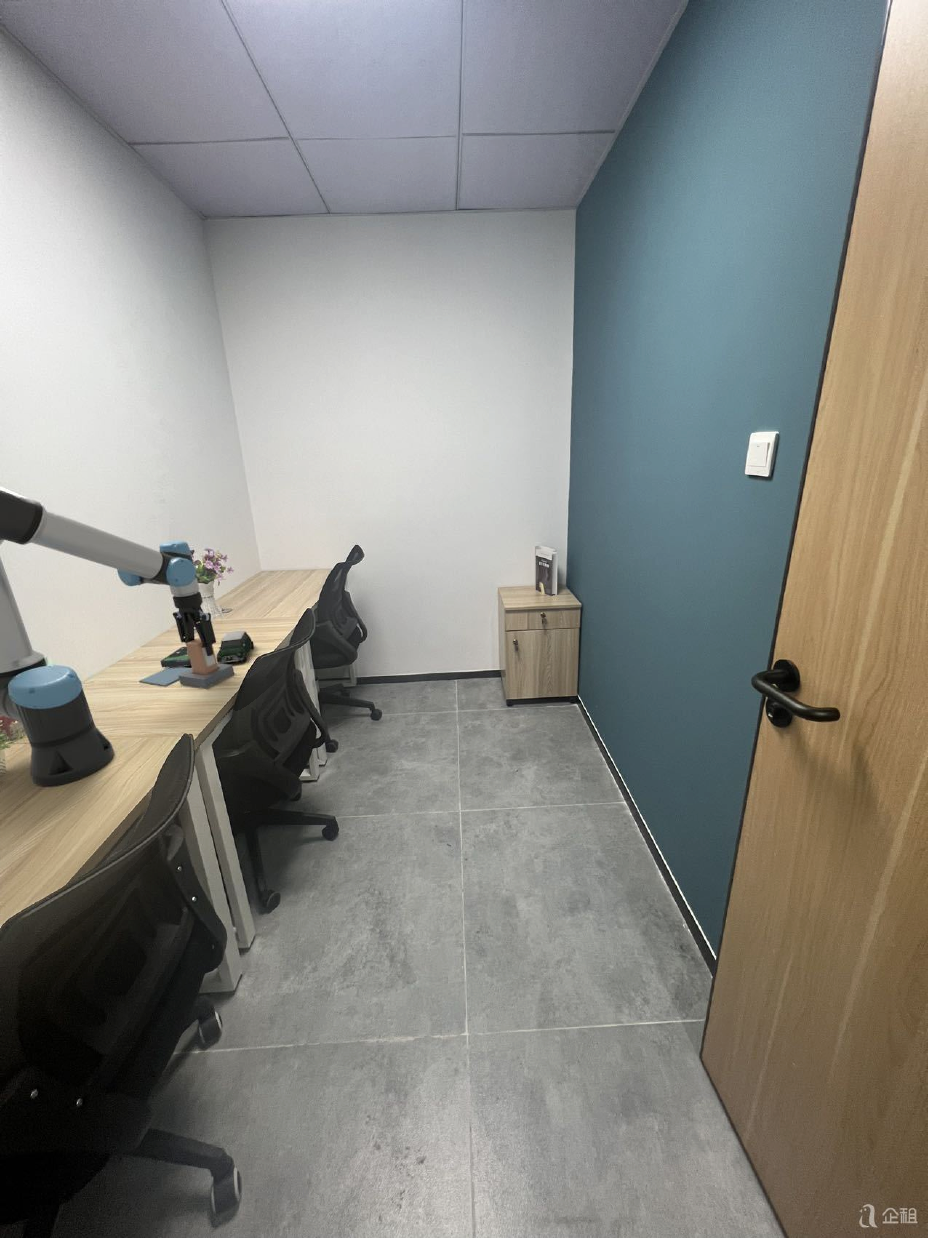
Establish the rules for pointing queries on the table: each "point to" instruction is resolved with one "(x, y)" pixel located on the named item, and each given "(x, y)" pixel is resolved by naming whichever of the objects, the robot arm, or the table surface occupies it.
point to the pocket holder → (206, 676)
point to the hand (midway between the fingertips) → (204, 663)
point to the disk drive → (177, 658)
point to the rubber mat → (165, 676)
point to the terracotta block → (199, 658)
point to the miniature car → (234, 647)
